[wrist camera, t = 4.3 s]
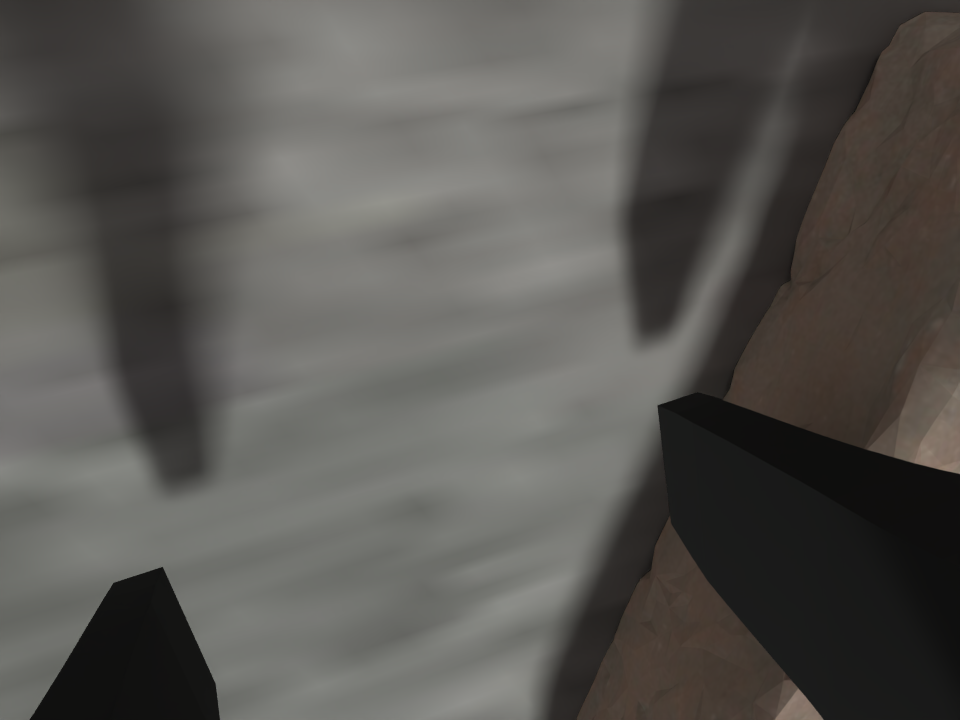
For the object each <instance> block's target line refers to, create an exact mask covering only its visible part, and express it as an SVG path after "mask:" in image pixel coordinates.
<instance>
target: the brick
mask: <svg viewBox="0 0 960 720" xmlns="http://www.w3.org/2000/svg"><path fill="white" fill-rule="evenodd" d="M722 400H724V401H727V402H730V403H733V404H736V405H738V406H741V407H744V408H747V409H750V410H752V411H755V412H758V413H761V414H763V415H766V416H769V417H772V418H775V419H777V420H780V421H783V422H786V423H789V424H791V425H794V426H797V427H800V428H803V429H806V430H808V431H811V432H814V433H817V434H820V435H823V436H826V437H829V438H832V439H835V440H838V441H841V442H844V443H847V444H851V445H854V446H857V447H860V448H863V449H867V450H870V451H873V452H877V453H880V454H884V455H887V456H891V457H894V458H898V459H901V460H905V461H908V462H912V463H916V464H920V465H924V466H928V467H932V468H936V469H940V470H944V471H949V472H953V473H958V474H960V13H950V12H924V13H922V14H920V15H918V16H916V17H914V18H913V19H911V20H909V21H907V22H905V23H903V24H901V25H900V26H899V28H898V30H897V32H896V34H895V35H894V37H893V39H892V41H891V43H890V45H889V46H888V47H887V48H886V49H885V50H884V51H882V53H881V55H880V57H879V59H878V61H877V63H876V66H875V69H874V71H873V74H872V76H871V79H870V81H869V84H868V86H867V88H866V90H865V92H864V94H863V96H862V98H861V100H860V102H859V104H858V107H857V109H856V111H855V112H854V113H853V114H852V115H851V116H850V118H849V119H848V120H847V122H846V123H845V124H844V126H843V128H842V130H841V131H840V133H839V135H838V137H837V139H836V140H835V142H834V145H833V147H832V150H831V152H830V155H829V157H828V160H827V162H826V165H825V167H824V170H823V172H822V174H821V177H820V179H819V182H818V184H817V187H816V189H815V191H814V194H813V196H812V198H811V201H810V203H809V206H808V208H807V211H806V213H805V216H804V218H803V221H802V224H801V227H800V230H799V233H798V236H797V239H796V245H795V252H794V257H793V262H792V267H791V280H790V281H788V282H786V283H785V284H783V285H781V287H780V288H779V290H778V292H777V294H776V296H775V298H774V300H773V302H772V304H771V306H770V308H769V309H768V310H767V312H766V314H765V315H764V317H763V319H762V320H761V322H760V324H759V325H758V327H757V328H756V330H755V332H754V333H753V335H752V337H751V338H750V340H749V342H748V344H747V346H746V348H745V350H744V351H743V353H742V355H741V357H740V359H739V361H738V363H737V365H736V367H735V369H734V374H733V379H732V383H731V387H730V390H729V391H728V392H727V394H726V395H725V397H724V398H723V399H722ZM576 720H824V719H823V718H822V717H821V716H820V714H819V713H818V712H817V711H816V709H815V708H814V707H813V705H812V704H811V703H810V702H809V700H808V699H807V698H806V697H805V696H804V694H803V693H802V692H801V691H800V690H799V689H798V687H797V686H796V685H795V684H794V683H793V682H792V680H791V679H790V678H789V677H788V676H787V675H786V673H785V672H784V671H783V670H782V669H781V667H780V666H779V665H778V664H777V663H776V662H775V660H774V659H773V658H772V657H771V656H770V655H769V653H768V652H767V651H766V650H765V649H764V648H763V646H762V645H761V644H760V643H759V642H758V641H757V639H756V638H755V637H754V636H753V635H752V633H751V632H750V631H749V630H748V629H747V628H746V626H745V625H744V624H743V623H742V622H741V621H740V619H739V618H738V617H737V616H736V615H735V613H734V612H733V611H732V610H731V609H730V607H729V606H728V605H727V604H726V603H725V601H724V600H723V599H722V598H721V597H720V595H719V594H718V593H717V592H716V591H715V589H714V588H713V587H712V586H711V584H710V583H709V582H708V581H707V579H706V578H705V576H704V575H703V573H702V572H701V570H700V569H699V567H698V566H697V564H696V563H695V561H694V560H693V558H692V557H691V555H690V553H689V552H688V550H687V549H686V547H685V545H684V544H683V542H682V540H681V539H680V537H679V536H678V534H677V532H676V531H675V529H674V527H673V526H672V524H671V519H670V516H669V518H668V520H667V522H666V524H665V526H664V528H663V531H662V533H661V535H660V537H659V539H658V541H657V543H656V545H655V549H654V555H653V562H652V568H651V570H650V571H649V572H648V573H647V574H646V575H644V576H643V577H642V578H641V579H640V581H639V582H638V583H637V585H636V587H635V590H634V592H633V594H632V596H631V598H630V600H629V603H628V605H627V607H626V609H625V611H624V613H623V616H622V618H621V620H620V623H619V626H618V629H617V632H616V634H615V637H614V640H613V642H612V643H611V645H610V647H609V649H608V651H607V653H606V654H605V656H604V658H603V661H602V662H601V664H600V667H599V670H598V672H597V675H596V678H595V680H594V682H593V684H592V686H591V688H590V691H589V693H588V695H587V697H586V699H585V701H584V703H583V705H582V707H581V709H580V711H579V714H578V716H577V719H576Z"/></svg>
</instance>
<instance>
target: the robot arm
mask: <svg viewBox="0 0 960 720" xmlns="http://www.w3.org/2000/svg"><path fill="white" fill-rule="evenodd" d="M658 414H659V422H660V431H661V440H662V449H663V458H664V466H665V475H666V484H667V493H668V502H669V510H670V519H671V524H672V526H673V527H674V529H675V531H676V532H677V534H678V536H679V537H680V539H681V540H682V542H683V544H684V545H685V547H686V549H687V550H688V552H689V553H690V555H691V557H692V558H693V560H694V561H695V563H696V564H697V566H698V567H699V569H700V570H701V572H702V573H703V575H704V576H705V578H706V579H707V581H708V582H709V583H710V584H711V586H712V587H713V588H714V589H715V591H716V592H717V593H718V594H719V595H720V597H721V598H722V599H723V600H724V601H725V603H726V604H727V605H728V606H729V607H730V609H731V610H732V611H733V612H734V613H735V615H736V616H737V617H738V618H739V619H740V621H741V622H742V623H743V624H744V625H745V626H746V628H747V629H748V630H749V631H750V632H751V633H752V635H753V636H754V637H755V638H756V639H757V641H758V642H759V643H760V644H761V645H762V646H763V648H764V649H765V650H766V651H767V652H768V653H769V655H770V656H771V657H772V658H773V659H774V660H775V662H776V663H777V664H778V665H779V666H780V667H781V669H782V670H783V671H784V672H785V673H786V675H787V676H788V677H789V678H790V679H791V680H792V682H793V683H794V684H795V685H796V686H797V687H798V689H799V690H800V691H801V692H802V693H803V694H804V696H805V697H806V698H807V699H808V700H809V702H810V703H811V704H812V705H813V707H814V708H815V709H816V711H817V712H818V713H819V714H820V716H821V717H822V718H823V719H824V720H960V474H958V473H953V472H949V471H944V470H940V469H936V468H932V467H928V466H924V465H920V464H916V463H912V462H908V461H905V460H901V459H898V458H894V457H891V456H887V455H884V454H880V453H877V452H873V451H870V450H867V449H863V448H860V447H857V446H854V445H851V444H847V443H844V442H841V441H838V440H835V439H832V438H829V437H826V436H823V435H820V434H817V433H814V432H811V431H808V430H806V429H803V428H800V427H797V426H794V425H791V424H789V423H786V422H783V421H780V420H777V419H775V418H772V417H769V416H766V415H763V414H761V413H758V412H755V411H752V410H750V409H747V408H744V407H741V406H738V405H736V404H733V403H730V402H727V401H724V400H721V399H718V398H715V397H712V396H709V395H705V394H702V393H698V392H697V393H694V394H691V395H688V396H685V397H682V398H679V399H676V400H673V401H670V402H667V403H664V404H661V405H658ZM30 720H220V717H219V708H218V700H217V692H216V684H215V681H214V679H213V677H212V675H211V673H210V670H209V668H208V666H207V664H206V662H205V659H204V657H203V655H202V653H201V651H200V648H199V646H198V644H197V642H196V640H195V637H194V635H193V633H192V631H191V628H190V626H189V624H188V622H187V620H186V617H185V615H184V613H183V611H182V609H181V606H180V604H179V602H178V600H177V598H176V595H175V593H174V591H173V589H172V587H171V584H170V582H169V580H168V578H167V576H166V573H165V571H164V569H163V567H161V568H158V569H155V570H152V571H149V572H146V573H143V574H140V575H137V576H133V577H130V578H127V579H124V580H121V581H118V582H115V583H113V585H112V586H111V588H110V590H109V591H108V593H107V594H106V596H105V598H104V599H103V601H102V603H101V604H100V606H99V608H98V609H97V611H96V612H95V614H94V616H93V617H92V619H91V621H90V622H89V624H88V626H87V627H86V629H85V631H84V633H83V634H82V636H81V638H80V639H79V641H78V643H77V644H76V646H75V648H74V649H73V651H72V653H71V654H70V656H69V658H68V659H67V661H66V663H65V664H64V666H63V668H62V669H61V671H60V673H59V674H58V676H57V677H56V679H55V681H54V682H53V684H52V685H51V687H50V689H49V690H48V692H47V693H46V695H45V697H44V698H43V700H42V701H41V703H40V705H39V706H38V708H37V709H36V711H35V713H34V714H33V715H32V717H31V718H30Z"/></svg>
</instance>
